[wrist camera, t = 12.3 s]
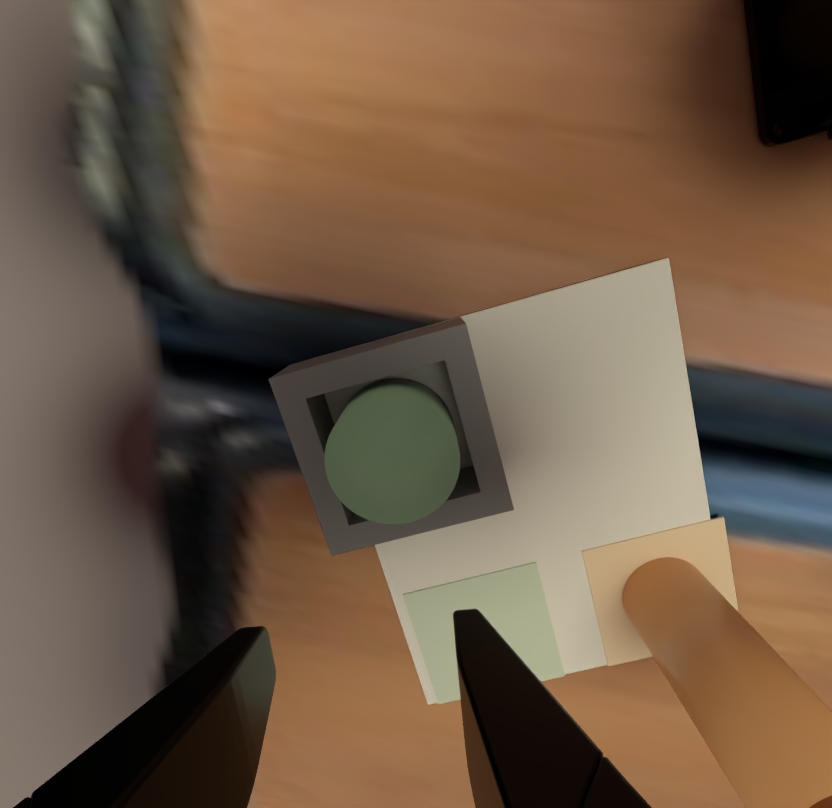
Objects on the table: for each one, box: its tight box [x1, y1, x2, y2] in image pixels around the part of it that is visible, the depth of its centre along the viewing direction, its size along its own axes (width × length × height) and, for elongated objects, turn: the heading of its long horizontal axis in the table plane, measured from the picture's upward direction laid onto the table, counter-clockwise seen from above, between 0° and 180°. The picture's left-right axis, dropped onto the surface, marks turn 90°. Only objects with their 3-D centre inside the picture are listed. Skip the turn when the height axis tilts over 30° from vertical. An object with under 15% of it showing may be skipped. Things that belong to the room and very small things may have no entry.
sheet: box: [269, 258, 738, 705], centre depth 20 cm, size 17×16×3 cm
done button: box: [324, 378, 460, 524], centre depth 18 cm, size 4×4×3 cm
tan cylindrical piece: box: [622, 557, 832, 808], centre depth 17 cm, size 4×4×12 cm
